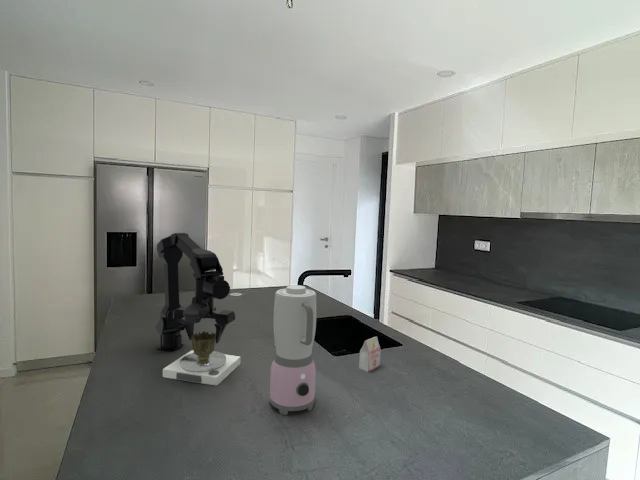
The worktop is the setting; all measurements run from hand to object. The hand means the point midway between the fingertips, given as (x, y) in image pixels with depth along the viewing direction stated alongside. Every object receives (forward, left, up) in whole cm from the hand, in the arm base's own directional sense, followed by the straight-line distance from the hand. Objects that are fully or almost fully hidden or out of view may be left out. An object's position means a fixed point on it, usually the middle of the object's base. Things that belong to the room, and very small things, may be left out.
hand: (204, 341), depth 117 cm
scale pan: (0, 0, -7) cm, 7 cm away
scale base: (0, 0, -10) cm, 10 cm away
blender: (+34, -12, -10) cm, 37 cm away
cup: (0, 0, -6) cm, 6 cm away
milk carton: (+51, +19, -10) cm, 55 cm away
